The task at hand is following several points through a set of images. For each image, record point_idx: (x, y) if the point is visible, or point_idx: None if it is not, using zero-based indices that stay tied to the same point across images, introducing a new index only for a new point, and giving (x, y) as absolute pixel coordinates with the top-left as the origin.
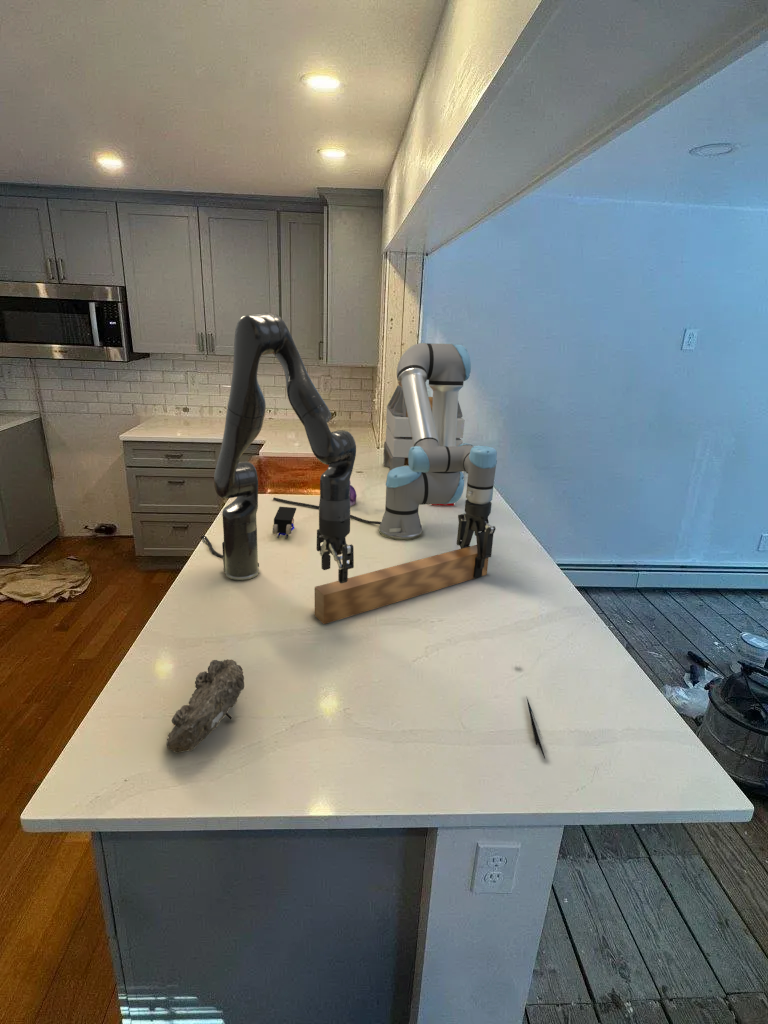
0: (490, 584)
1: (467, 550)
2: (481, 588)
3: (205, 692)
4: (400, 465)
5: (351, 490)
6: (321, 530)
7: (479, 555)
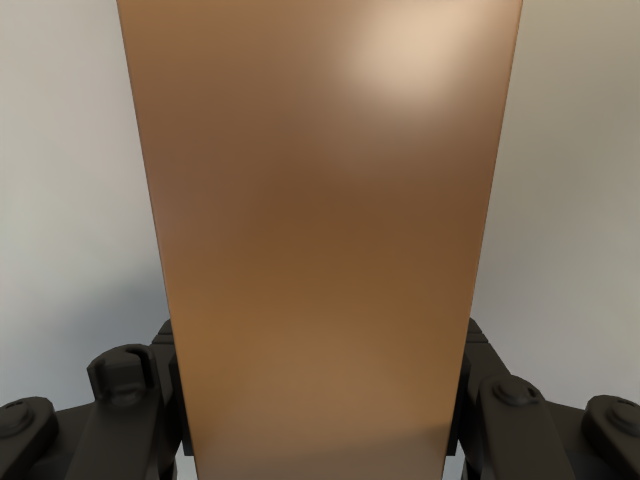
0: (131, 288)
1: (348, 383)
2: (96, 189)
3: None
4: None
5: None
6: None
7: (115, 412)
